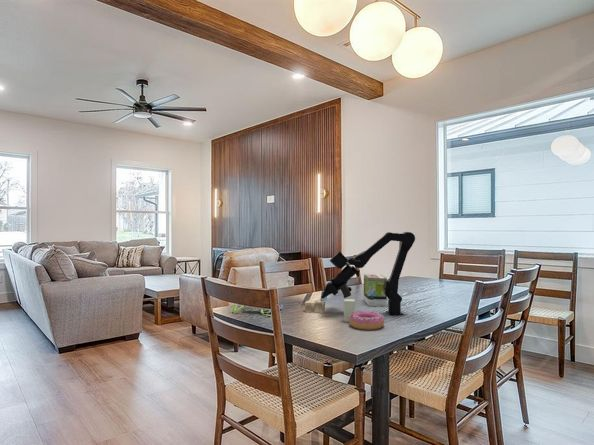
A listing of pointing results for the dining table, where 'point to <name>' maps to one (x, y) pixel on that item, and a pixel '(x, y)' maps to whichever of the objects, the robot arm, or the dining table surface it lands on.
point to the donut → (366, 320)
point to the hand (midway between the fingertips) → (321, 298)
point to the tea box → (374, 290)
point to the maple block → (315, 306)
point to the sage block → (348, 308)
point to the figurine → (259, 310)
